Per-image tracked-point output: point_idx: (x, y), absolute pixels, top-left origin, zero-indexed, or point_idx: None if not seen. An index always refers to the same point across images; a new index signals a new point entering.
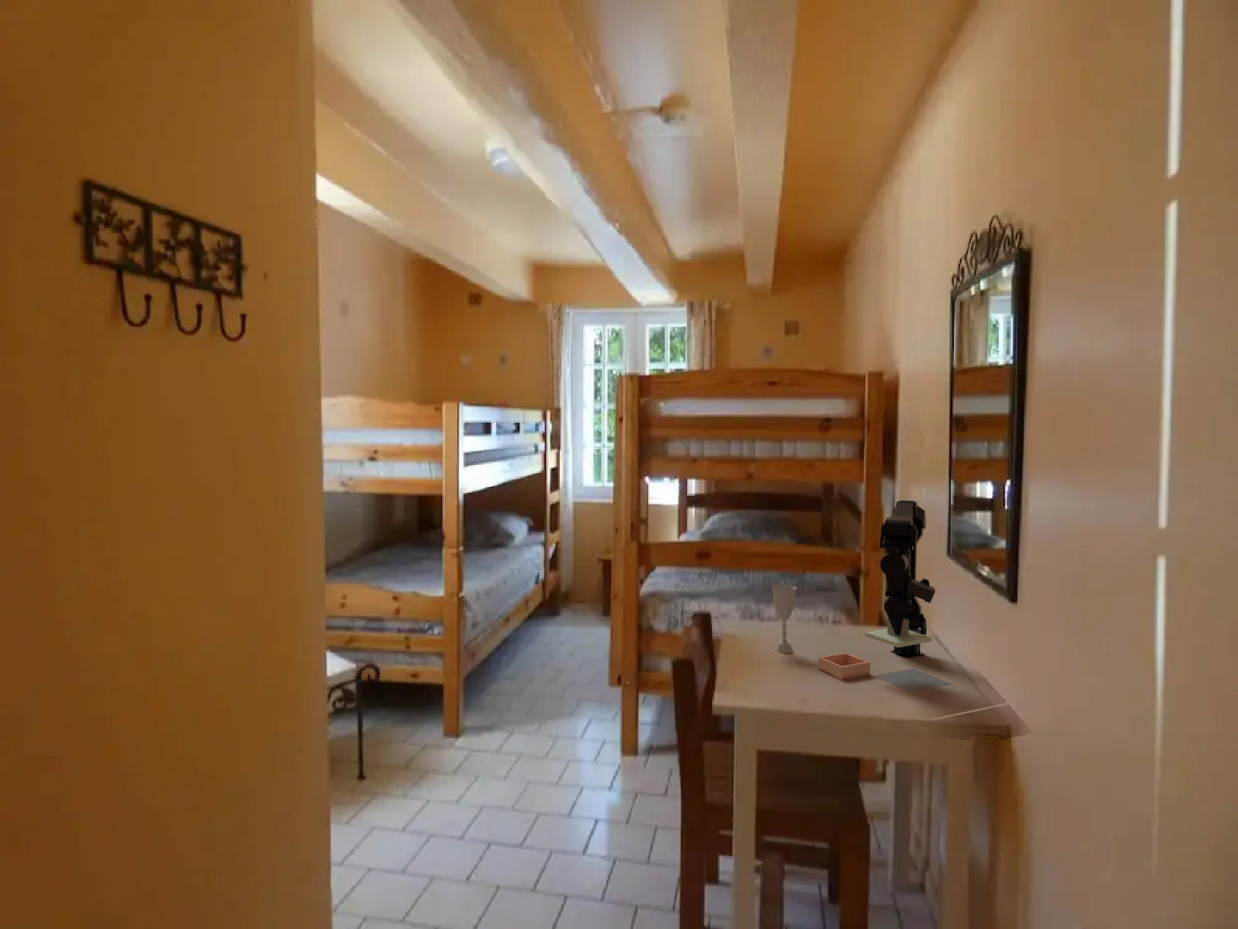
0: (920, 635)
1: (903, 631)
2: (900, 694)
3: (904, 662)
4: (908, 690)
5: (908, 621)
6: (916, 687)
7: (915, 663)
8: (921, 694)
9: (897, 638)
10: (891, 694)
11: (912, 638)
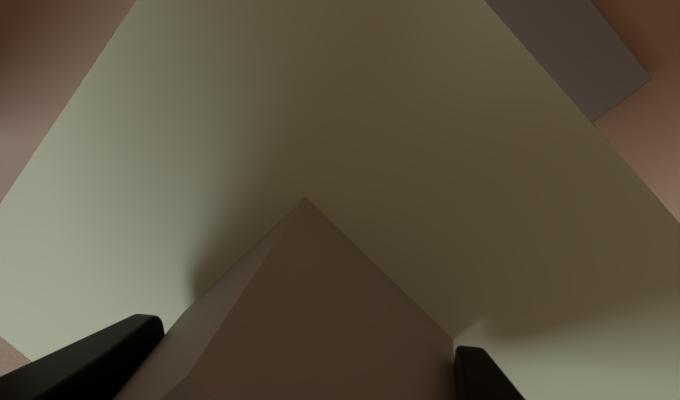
0: (233, 11)
1: (373, 314)
2: (666, 144)
3: (33, 105)
4: (621, 96)
5: (216, 345)
6: (543, 40)
7: (16, 39)
8: (649, 6)
9: (510, 349)
10: (672, 196)
11: (462, 149)
